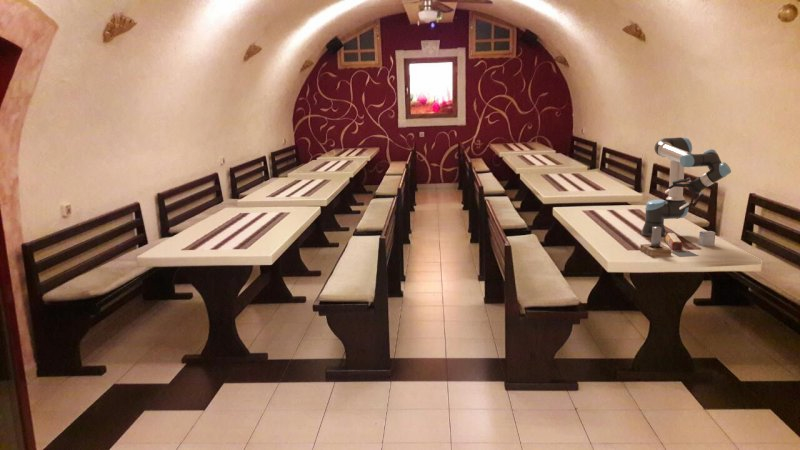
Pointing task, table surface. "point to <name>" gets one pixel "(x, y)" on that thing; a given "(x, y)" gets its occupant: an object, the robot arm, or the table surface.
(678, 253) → the mat
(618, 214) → the table surface
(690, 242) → the table surface
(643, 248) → the socket block
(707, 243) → the medicine box
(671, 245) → the snack package
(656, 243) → the pin
